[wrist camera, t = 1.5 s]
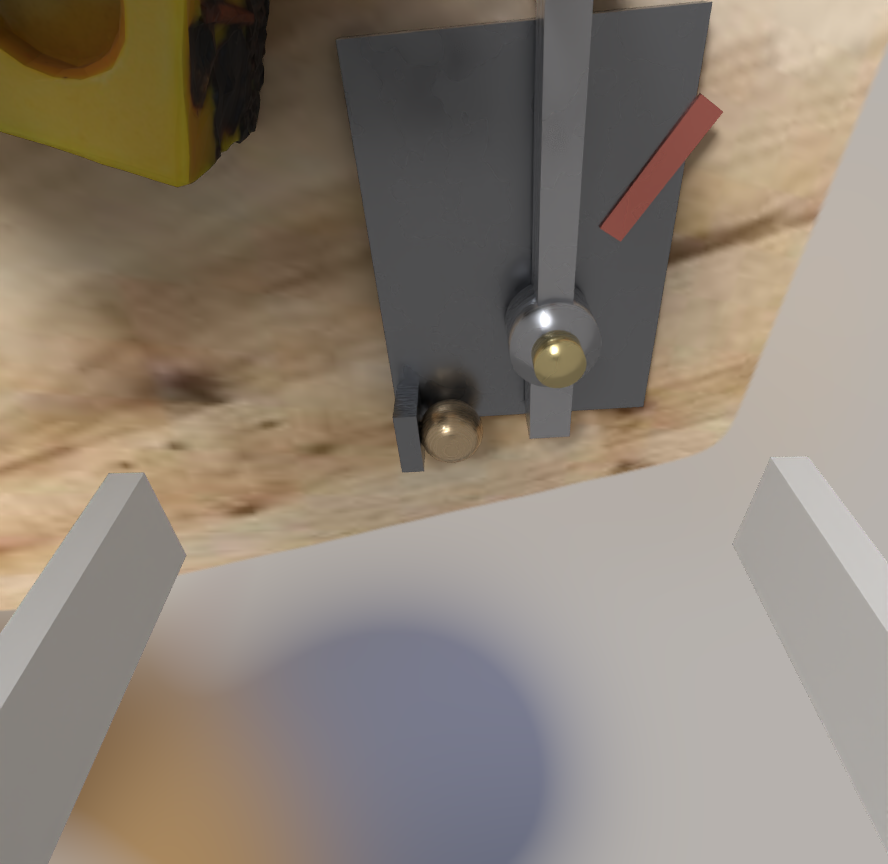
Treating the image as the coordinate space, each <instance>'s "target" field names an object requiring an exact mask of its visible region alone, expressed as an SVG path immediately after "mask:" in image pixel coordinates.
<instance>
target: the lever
mask: <svg viewBox="0 0 888 864" xmlns="http://www.w3.org/2000/svg"><path fill="white" fill-rule="evenodd" d="M592 13H593V0H536V31H535V95H534V159H533V224H532V284H531V285H529V286H527V287H525V288H524V289H522V290H521V291H520V292H519V293H518V294H517V295H516V296H515V297H514V298H513V299H512V301H511V302H510V304H509V306H508V308H507V311H506V315H505V328H506V335H507V341H508V347H509V354H510V359H511V363H512V365H513V368H514V369H515V371H516V372H517V373H518V375H519V376H521V377H522V378H523V379H524V380H525V415H526V420H527V426H528V432H529V438H530V439H533V438H550V437H568V436H570V423H571V409H572V395H573V384H572V385H570V386H567V387H564V388H551V387H548V386H545V385H543V384H542V383H541V382H540V381H539V380H538V379H537V377H536V375H535V371H534V367H533V362H532V357H531V351H532V348H533V345H534V344H535V342H536V341H537V340H538V339H539V338H540V337H541V336H542V335H544V334H546V333H548V332H551V331H556V330H562V331H567V332H570V333H572V334H573V335H575V336H576V337H577V338H578V340H579V342H580V344H581V347H582V349H583V352H584V355H585V358H586V369H585V372H584V374H583V375H582V377H583V376H584V375H586V374H587V373H588V372H589V371H590V370H591V369H592V367H593V366H594V365H595V363H596V362H597V360H598V357H599V355H600V352H601V346H602V340H601V335H600V331H599V329H598V326H597V324H596V322H595V319H594V317H593V315H592V312H591V310H590V308H589V305H588V303H587V301H586V299H585V297H584V295H583V294H582V293H581V292H580V290H579V289H577V288H576V287H575V286H574V285H575V270H576V255H577V240H578V225H579V209H580V194H581V179H582V164H583V149H584V134H585V119H586V103H587V88H588V73H589V58H590V43H591V28H592ZM582 377H581V378H582Z"/></svg>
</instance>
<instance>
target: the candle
mask: <svg viewBox="0 0 888 864" xmlns="http://www.w3.org/2000/svg"><path fill="white" fill-rule="evenodd" d="M268 15H269V0H0V132H3V133H6V134H10V135H13V136H17V137H20V138H24V139H27V140H31V141H34V142H38V143H41V144H45V145H48V146H51V147H54V148H57V149H60V150H63V151H66V152H69V153H72V154H75V155H78V156H81V157H83V158H86V159H89V160H92V161H94V162H97V163H100V164H103V165H106V166H110V167H113V168H117V169H121V170H124V171H127V172H130V173H133V174H136V175H140V176H143V177H146V178H149V179H152V180H155V181H159V182H162V183H165V184H168V185H172V186H175V187H180V186H184V185H187V184H191V183H193V182H194V181H196V180H197V179H198V178H200V177H201V176H202V175H203V174H204V173H205V172H207V171H208V170H209V169H210V168H211V167H212V166H213V165H214V164H215V162H216V161H217V159H218V158H219V157H220V156H221V152H224V151H227V150H228V148H229V147H230V145H232V144H233V143H234V142H237V143H241V142H242V141H243V140H245V139H246V138H247V137H248V136H249V135H250V133H251V132H254V131H255V128H256V123H257V118H258V113H259V107H260V95H259V91H260V89H261V87H262V85H263V83H264V66H263V63H262V58H263V56H264V54H265V40H266V36H267V33H266V26H267V20H268Z"/></svg>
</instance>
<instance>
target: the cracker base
mask: <svg viewBox="0 0 888 864" xmlns="http://www.w3.org/2000/svg"><path fill="white" fill-rule="evenodd" d="M711 7H712V2H707V1H699V2H689V3H679V4H669V5H659V6H649V7H639V8H629V9H619V10H609V11H599V12H593V13H592V28H591V43H590V58H589V73H588V88H587V103H586V119H585V134H584V149H583V164H582V179H581V194H580V209H579V225H578V240H577V255H576V270H575V285H574V286H575V287H576V288H577V289H579V290H580V292H581V293H582V294H583V295H584V297H585V299H586V301H587V303H588V305H589V308H590V310H591V312H592V315H593V317H594V319H595V322H596V324H597V326H598V329H599V331H600V335H601V340H602V346H601V352H600V355H599V357H598V360H597V362H596V363H595V365H594V366H593V367H592V369H591V370H590V371H589V372H588V373H587V374H586V375H584V376H583V377H582V375H583V374H584V372H585V369H586V358H585V355H584V352H583V349H582V347H581V344H580V342H579V340H578V338H577V337H576V336H575V335H573V334H572V333H570V332H567V331H562V330H556V331H551V332H548V333H546V334H544V335H542V336H541V337H540V338H539V339H538V340H537V341H536V342H535V344H534V345H533V348H532V351H531V357H532V362H533V367H534V371H535V375H536V377H537V379H538V380H539V381H540V382H541V383H542V384H543V385H545V386H548V387H551V388H564V387H567V386H570V385H572V384H573V395H572V409H571V411H577V410H594V409H611V408H627V407H643V405H644V399H645V393H646V387H647V381H648V375H649V370H650V364H651V358H652V352H653V346H654V340H655V335H656V329H657V323H658V317H659V311H660V305H661V300H662V294H663V288H664V282H665V276H666V270H667V264H668V259H669V253H670V247H671V241H672V235H673V229H674V224H675V218H676V212H677V206H678V200H679V194H680V188H681V183H682V177H683V171H684V165H685V160H686V158H687V157H688V156H689V155H690V153H691V152H692V151H693V149H694V148H695V147H696V146H697V144H698V143H699V142H700V141H701V139H702V138H703V137H704V136H705V134H706V133H707V132H708V130H709V129H710V128H711V127H712V125H713V124H714V123H715V122H716V120H717V119H718V118H719V117H720V115H721V114H722V113H723V111H722V110H720V109H719V108H718V107H717V106H715V105H714V104H713V103H712V102H710V101H709V100H708V99H707V98H706V97H704V96H703V95H702V94H699V95H698V96H697V98H696V95H697V89H698V83H699V77H700V72H701V66H702V60H703V54H704V48H705V42H706V37H707V31H708V25H709V19H710V13H711ZM535 31H536V18H530V19H520V20H510V21H500V22H490V23H480V24H470V25H460V26H450V27H441V28H431V29H421V30H411V31H401V32H391V33H381V34H371V35H361V36H351V37H341V38H338V39H336V45H337V51H338V57H339V63H340V69H341V75H342V81H343V87H344V93H345V99H346V105H347V111H348V117H349V123H350V129H351V135H352V141H353V147H354V153H355V159H356V165H357V171H358V177H359V183H360V189H361V195H362V201H363V207H364V213H365V219H366V225H367V231H368V237H369V243H370V249H371V255H372V261H373V267H374V273H375V279H376V285H377V291H378V297H379V303H380V309H381V315H382V321H383V327H384V333H385V339H386V345H387V351H388V357H389V363H390V369H391V375H392V381H393V387H394V393H395V405H394V412H393V422H394V428H395V434H396V439H397V445H398V451H399V457H400V462H401V468H402V472H420V471H424V462H425V450H426V451H427V452H428V453H429V454H430V455H431V456H432V457H434V458H435V459H437V460H439V461H442V462H447V463H455V462H460V461H463V460H465V459H467V458H469V457H470V456H471V455H472V454H473V453H474V452H475V451H476V450H477V449H478V447H479V445H480V443H481V440H482V435H483V427H482V422H481V419H480V417H479V416H494V415H511V414H525V380H524V379H523V378H522V377H521V376H519V375H518V373H517V372H516V371H515V369H514V368H513V365H512V363H511V359H510V354H509V347H508V341H507V335H506V328H505V315H506V311H507V308H508V306H509V304H510V302H511V301H512V299H513V298H514V297H515V296H516V295H517V294H518V293H519V292H520V291H521V290H522V289H524V288H525V287H527V286H529V285H531V284H532V224H533V159H534V95H535ZM581 377H582V378H581Z"/></svg>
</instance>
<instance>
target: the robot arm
mask: <svg viewBox="0 0 888 864" xmlns="http://www.w3.org/2000/svg"><path fill="white" fill-rule="evenodd" d="M733 546H734V548H735V550H736V552H737V554H738V556H739V558H740V560H741V562H742V564H743V566H744V568H745V570H746V572H747V574H748V576H749V578H750V580H751V582H752V584H753V586H754V588H755V590H756V592H757V594H758V596H759V598H760V600H761V602H762V604H763V606H764V608H765V610H766V612H767V614H768V616H769V618H770V620H771V622H772V624H773V626H774V628H775V630H776V632H777V634H778V636H779V638H780V640H781V642H782V644H783V646H784V648H785V650H786V652H787V654H788V656H789V658H790V660H791V662H792V664H793V666H794V668H795V670H796V672H797V674H798V676H799V678H800V680H801V682H802V684H803V686H804V688H805V690H806V692H807V694H808V696H809V698H810V700H811V702H812V704H813V706H814V708H815V710H816V712H817V714H818V716H819V718H820V720H821V722H822V724H823V726H824V728H825V730H826V732H827V734H828V736H829V738H830V740H831V742H832V744H833V746H834V748H835V750H836V752H837V754H838V756H839V758H840V760H841V762H842V764H843V766H844V768H845V770H846V772H847V774H848V776H849V778H850V780H851V782H852V784H853V786H854V788H855V790H856V792H857V794H858V796H859V798H860V800H861V802H862V804H863V806H864V808H865V810H866V812H867V814H868V816H869V818H870V820H871V822H872V824H873V826H874V828H875V830H876V832H877V834H878V836H879V838H880V840H881V842H882V844H883V846H884V848H885V850H886V852H887V854H888V562H887V561H886V560H885V558H884V557H883V556H882V555H881V553H880V552H879V550H878V549H877V548H876V546H875V545H874V544H873V542H872V541H871V540H870V538H869V537H868V536H867V534H866V533H865V532H864V530H863V529H862V528H861V526H860V525H859V524H858V522H857V521H856V520H855V518H854V517H853V516H852V514H851V513H850V512H849V510H848V509H847V507H846V506H845V505H844V504H843V502H842V501H841V500H840V498H839V497H838V495H837V494H836V493H835V491H834V490H833V489H832V487H831V486H830V485H829V483H828V482H827V481H826V480H825V478H824V477H823V476H822V474H821V473H820V472H819V470H818V469H817V467H815V465H814V463H813V462H812V461H811V459H810V458H809V457H808V456H801V457H770V460H769V462H768V464H767V466H766V469H765V471H764V473H763V476H762V478H761V480H760V482H759V485H758V487H757V489H756V491H755V494H754V496H753V498H752V501H751V503H750V505H749V508H748V510H747V512H746V514H745V516H744V519H743V521H742V523H741V526H740V528H739V530H738V533H737V535H736V537H735V539H734V541H733ZM185 557H186V554H185V552H184V550H183V548H182V546H181V544H180V542H179V540H178V538H177V536H176V534H175V532H174V530H173V528H172V526H171V524H170V522H169V520H168V518H167V516H166V514H165V512H164V510H163V508H162V507H161V505H160V503H159V501H158V499H157V497H156V495H155V493H154V491H153V489H152V487H151V485H150V483H149V481H148V479H147V477H146V475H145V473H109V474H108V475H107V477H106V478H105V480H104V481H103V483H102V484H101V486H100V487H99V489H98V490H97V492H96V493H95V494H94V496H93V497H92V499H91V500H90V502H89V503H88V505H87V506H86V508H85V509H84V511H83V512H82V514H81V515H80V517H79V518H78V520H77V521H76V523H75V524H74V525H73V527H72V528H71V530H70V531H69V533H68V534H67V536H66V537H65V539H64V540H63V542H62V543H61V545H60V546H59V548H58V549H57V551H56V552H55V554H54V555H53V556H52V558H51V559H50V561H49V562H48V564H47V565H46V567H45V568H44V570H43V571H42V573H41V574H40V576H39V577H38V579H37V580H36V582H35V583H34V585H33V586H32V587H31V589H30V590H29V592H28V593H27V595H26V596H25V598H24V599H23V601H22V602H21V604H20V605H19V607H18V608H17V610H16V611H15V613H14V614H13V616H12V617H11V619H10V620H9V621H8V623H7V624H6V626H5V627H4V629H3V630H2V632H1V633H0V864H48V862H49V860H50V858H51V856H52V853H53V851H54V849H55V847H56V845H57V842H58V840H59V837H60V836H61V833H62V831H63V829H64V827H65V824H66V822H67V820H68V818H69V816H70V813H71V811H72V809H73V807H74V804H75V802H76V800H77V798H78V796H79V793H80V791H81V789H82V787H83V784H84V782H85V780H86V778H87V776H88V773H89V771H90V769H91V767H92V764H93V762H94V760H95V758H96V755H97V753H98V751H99V749H100V746H101V744H102V742H103V740H104V738H105V735H106V733H107V731H108V729H109V726H110V724H111V722H112V720H113V717H114V715H115V713H116V711H117V709H118V706H119V704H120V702H121V700H122V698H123V695H124V693H125V691H126V689H127V686H128V684H129V681H130V680H131V677H132V675H133V673H134V671H135V669H136V666H137V664H138V662H139V660H140V657H141V655H142V653H143V651H144V648H145V646H146V644H147V642H148V640H149V637H150V635H151V633H152V631H153V628H154V626H155V624H156V622H157V619H158V617H159V615H160V613H161V611H162V608H163V606H164V604H165V602H166V599H167V597H168V595H169V593H170V591H171V588H172V586H173V584H174V582H175V579H176V577H177V575H178V573H179V570H180V568H181V566H182V564H183V562H184V559H185Z"/></svg>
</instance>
